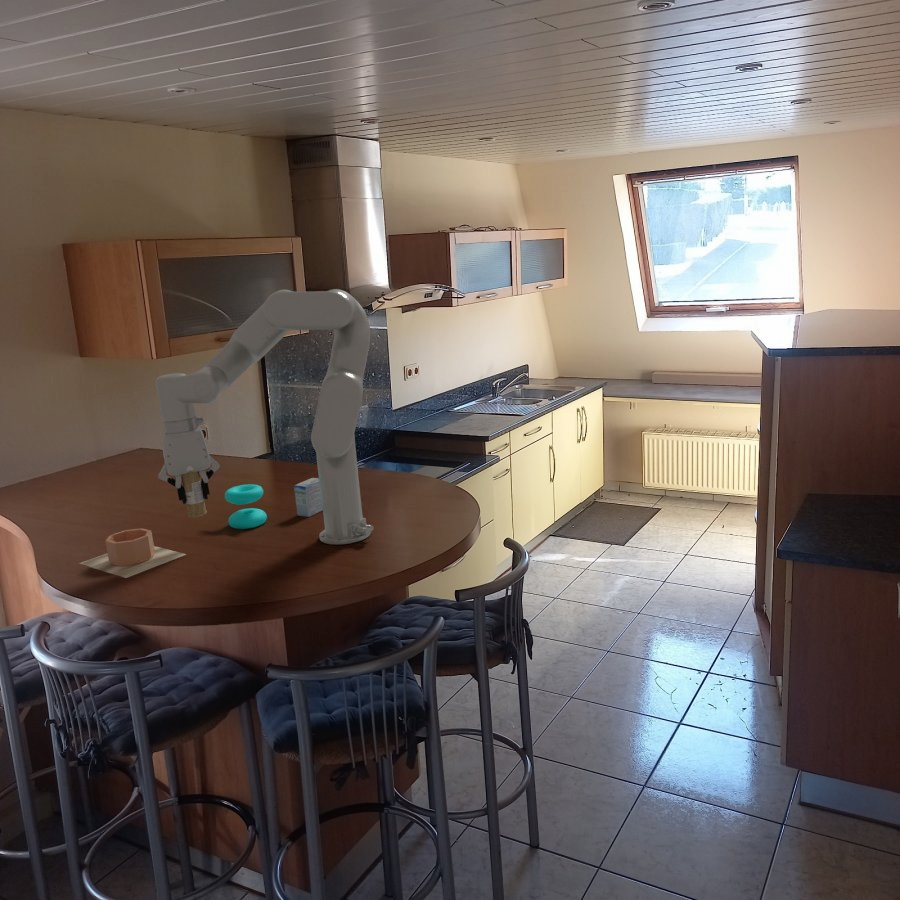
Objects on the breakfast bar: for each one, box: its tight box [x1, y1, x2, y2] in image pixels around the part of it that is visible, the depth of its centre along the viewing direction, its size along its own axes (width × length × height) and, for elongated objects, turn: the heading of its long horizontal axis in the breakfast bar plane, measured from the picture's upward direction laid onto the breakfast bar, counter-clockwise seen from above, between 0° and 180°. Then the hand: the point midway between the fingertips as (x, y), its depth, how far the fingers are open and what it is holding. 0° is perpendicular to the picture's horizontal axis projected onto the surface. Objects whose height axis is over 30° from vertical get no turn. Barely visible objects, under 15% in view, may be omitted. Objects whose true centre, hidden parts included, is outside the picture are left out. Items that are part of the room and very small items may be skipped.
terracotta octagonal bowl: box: [105, 528, 155, 566], centre depth 196 cm, size 10×10×6 cm
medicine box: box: [293, 477, 323, 518], centre depth 226 cm, size 8×4×9 cm, turn 149°
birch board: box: [78, 545, 187, 579], centre depth 197 cm, size 20×16×2 cm
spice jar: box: [181, 466, 208, 518], centre depth 199 cm, size 5×5×13 cm
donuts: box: [224, 483, 268, 530], centre depth 220 cm, size 10×10×10 cm
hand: (194, 499), depth 199 cm, fingers closed on spice jar, 4 cm apart
